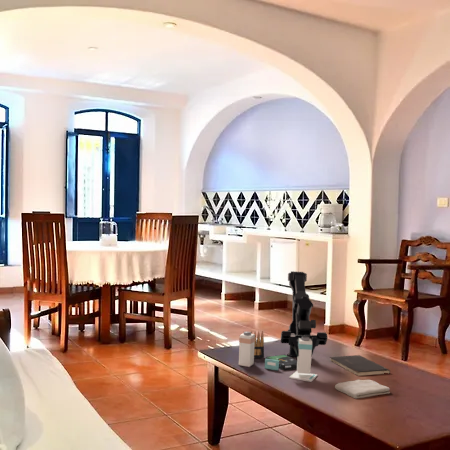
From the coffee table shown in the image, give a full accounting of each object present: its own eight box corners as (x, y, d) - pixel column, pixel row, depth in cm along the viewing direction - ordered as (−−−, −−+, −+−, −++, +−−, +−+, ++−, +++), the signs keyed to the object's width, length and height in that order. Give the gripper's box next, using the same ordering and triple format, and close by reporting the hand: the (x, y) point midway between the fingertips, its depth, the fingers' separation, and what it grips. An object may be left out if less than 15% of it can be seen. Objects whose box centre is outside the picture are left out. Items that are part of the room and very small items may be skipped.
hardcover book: (357, 377, 233) (357, 371, 233) (329, 361, 254) (329, 356, 254) (390, 374, 238) (390, 369, 238) (360, 359, 259) (360, 355, 259)
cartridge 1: (242, 362, 247) (244, 330, 246) (253, 363, 245) (255, 331, 244) (238, 365, 242) (239, 332, 242) (249, 366, 240) (250, 334, 240)
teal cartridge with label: (265, 367, 239) (265, 358, 239) (278, 370, 237) (278, 360, 236) (264, 368, 238) (264, 359, 238) (278, 370, 236) (278, 361, 236)
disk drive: (302, 369, 241) (284, 360, 254) (303, 363, 241) (285, 353, 254) (282, 371, 237) (264, 362, 250) (282, 365, 237) (265, 355, 250)
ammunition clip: (262, 356, 257) (263, 330, 257) (264, 357, 256) (265, 331, 255) (240, 357, 255) (241, 331, 254) (241, 358, 253) (242, 331, 253)
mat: (296, 372, 234) (296, 370, 234) (317, 375, 230) (317, 374, 230) (289, 378, 226) (289, 376, 226) (311, 381, 222) (311, 380, 222)
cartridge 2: (296, 369, 231) (298, 335, 230) (309, 370, 231) (311, 336, 230) (297, 373, 226) (299, 338, 225) (310, 373, 226) (312, 339, 225)
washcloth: (391, 394, 212) (392, 386, 212) (355, 400, 204) (355, 392, 204) (369, 384, 223) (369, 377, 223) (334, 390, 214) (334, 382, 214)
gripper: (282, 311, 231) (283, 344, 221) (327, 313, 231) (330, 346, 220) (280, 326, 240) (280, 358, 229) (324, 327, 239) (327, 360, 229)
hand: (304, 356), depth 227 cm, fingers closed on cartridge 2, 5 cm apart
